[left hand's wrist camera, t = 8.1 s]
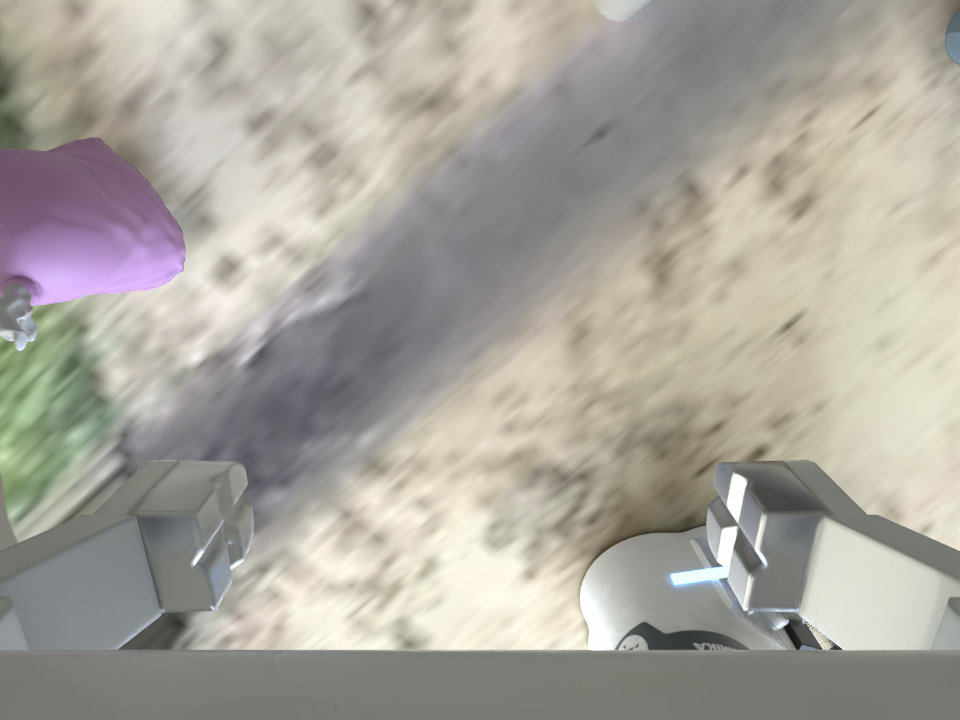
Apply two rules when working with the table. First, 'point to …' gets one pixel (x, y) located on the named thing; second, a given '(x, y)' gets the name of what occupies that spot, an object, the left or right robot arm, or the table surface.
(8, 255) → the toy character
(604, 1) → the jar
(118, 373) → the table surface
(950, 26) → the alarm clock
